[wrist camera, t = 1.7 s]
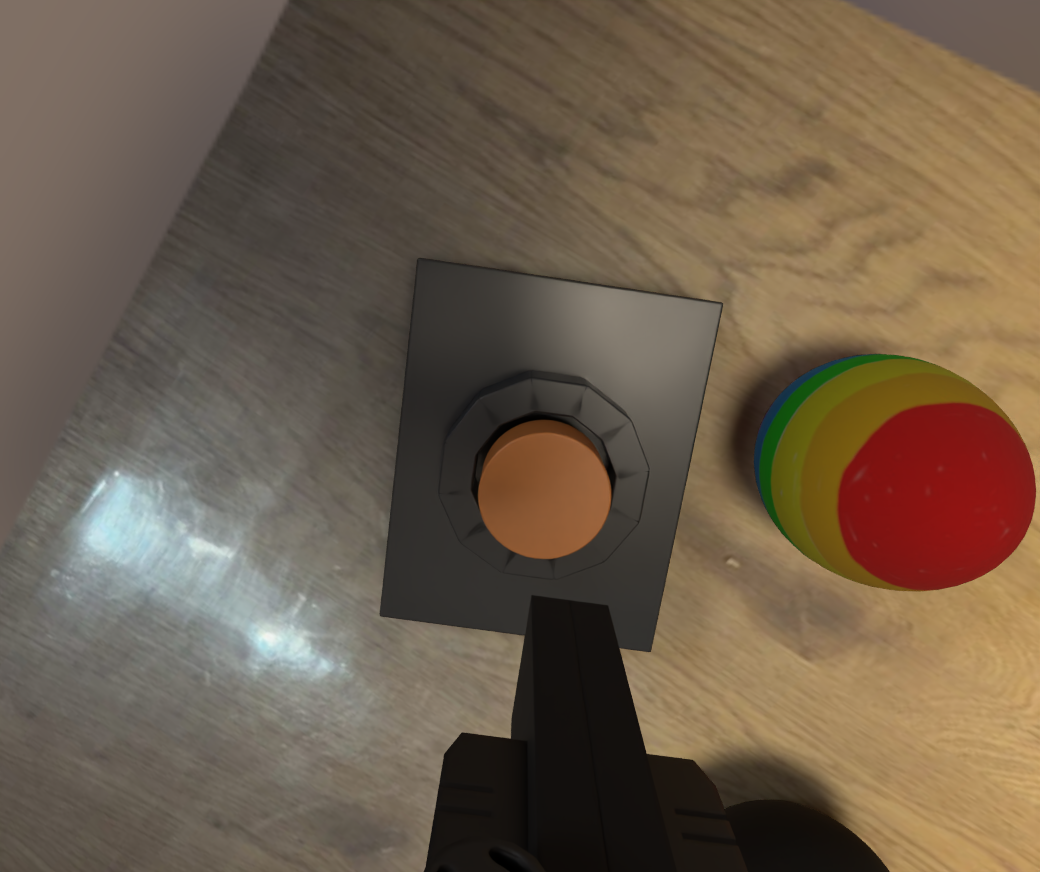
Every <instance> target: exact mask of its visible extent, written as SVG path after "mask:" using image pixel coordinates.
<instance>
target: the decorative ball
mask: <svg viewBox="0 0 1040 872" xmlns="http://www.w3.org/2000/svg"><path fill="white" fill-rule="evenodd" d="M725 812H726V815H727V816H726V819H727V821H729V823H730V825H731V828H732V831H733V833H734V836H735V838H736V846H739V849H740V852H741V854H742V857H743V860H744V862H745V865H746V868H747V870H748V872H890V871H889V870H888V868H887V867H886V866H885V865H884V863H883V862H882V861H881V860H880V858H879V857H878V856H877V855H876V854H875V853H874V852H873V851H872V849H871V848H870V847H869V846H868V845H867V844H866V843H865V842H863V841H862V840H861V839H860V838H859V837H858V836H857V835H855V834H854V833H853V832H852V831H851V830H849V829H848V828H846V827H845V826H844V825H842V824H841V823H839V822H837V821H836V820H834V819H832V818H831V817H829V816H827V815H825V814H823V813H821V812H819V811H817V810H814V809H812V808H809V807H806V806H803V805H800V804H796V803H792V802H787V801H779V800H755V801H749V802H744V803H740V804H737V805H734V806H731V807H729V808H726V809H725Z"/></svg>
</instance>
